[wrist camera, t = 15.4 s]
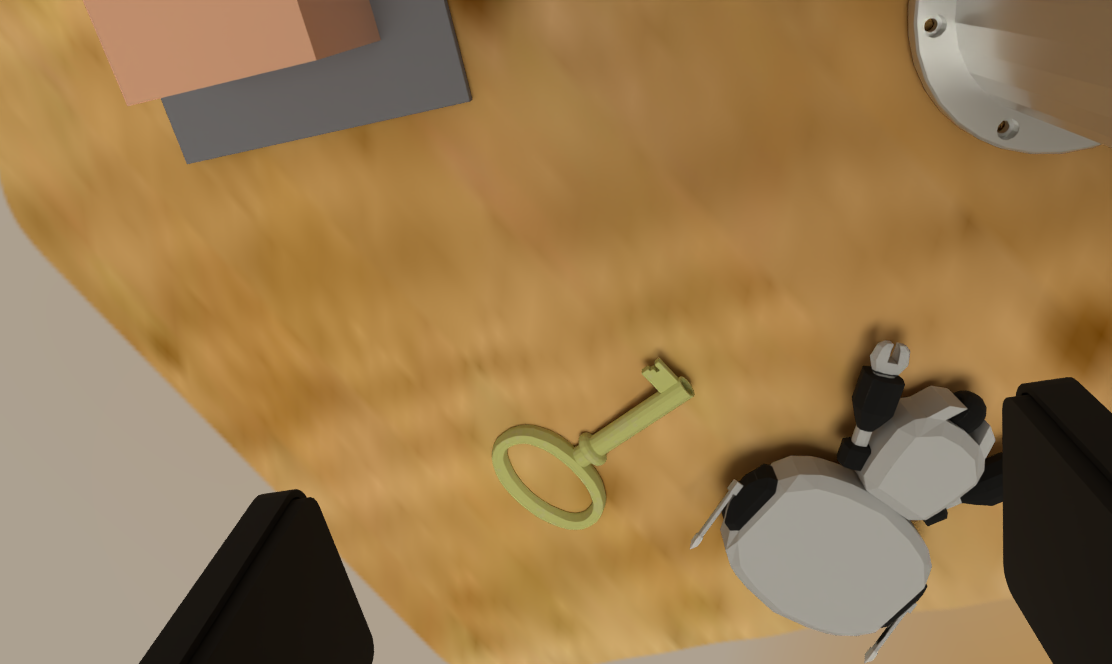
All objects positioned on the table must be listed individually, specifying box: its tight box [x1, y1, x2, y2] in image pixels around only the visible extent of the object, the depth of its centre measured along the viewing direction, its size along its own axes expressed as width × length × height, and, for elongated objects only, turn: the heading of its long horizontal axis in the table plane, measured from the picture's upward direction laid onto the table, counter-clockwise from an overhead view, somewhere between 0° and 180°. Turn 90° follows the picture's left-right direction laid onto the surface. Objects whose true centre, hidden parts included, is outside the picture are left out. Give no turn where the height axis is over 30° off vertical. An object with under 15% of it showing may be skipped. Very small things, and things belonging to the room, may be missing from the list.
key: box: [492, 358, 695, 530], centre depth 43 cm, size 7×12×2 cm, turn 151°
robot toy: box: [690, 340, 1003, 663], centre depth 42 cm, size 12×4×15 cm
